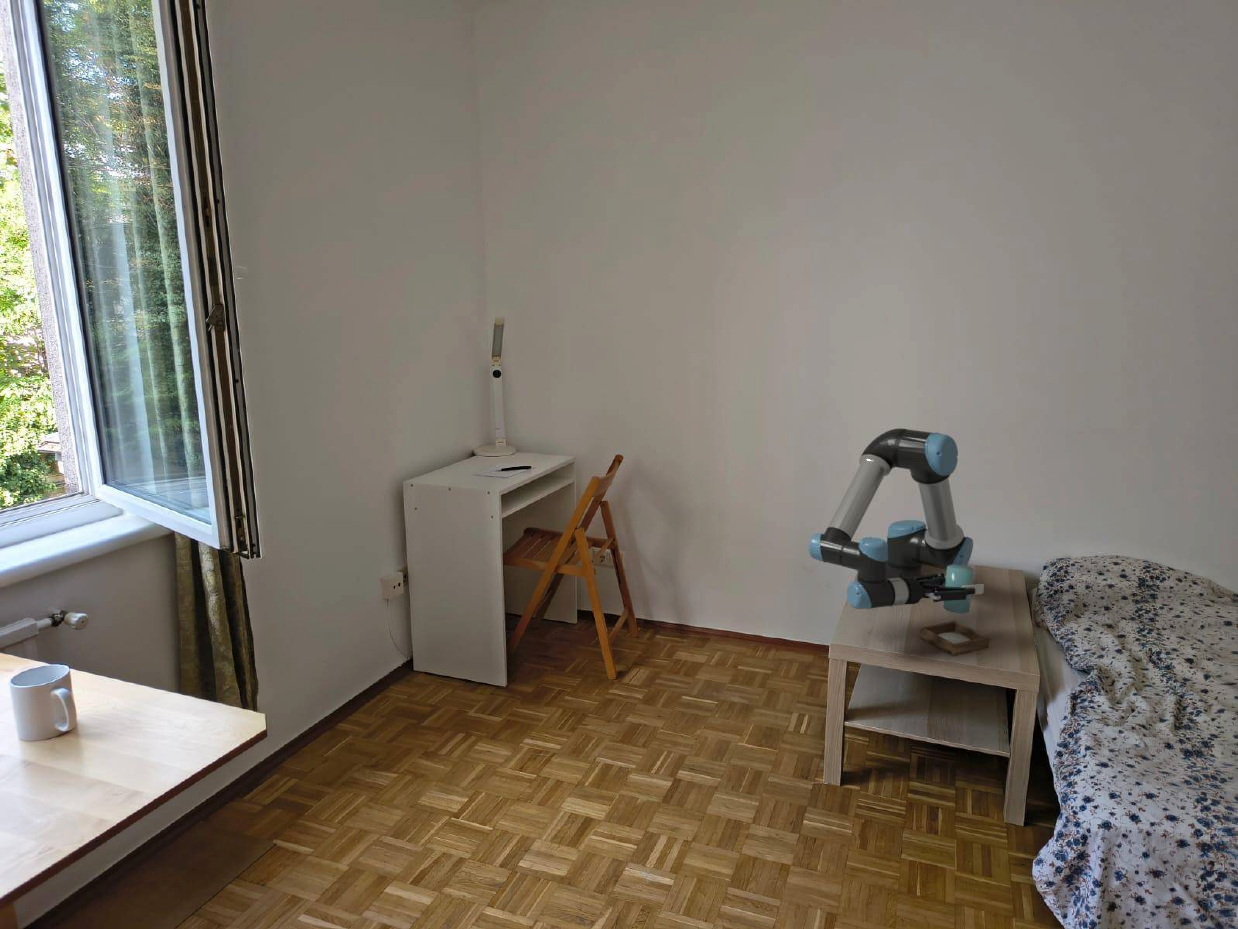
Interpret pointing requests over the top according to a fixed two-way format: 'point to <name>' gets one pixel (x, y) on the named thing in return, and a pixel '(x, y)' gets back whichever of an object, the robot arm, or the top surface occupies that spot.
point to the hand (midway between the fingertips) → (974, 583)
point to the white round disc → (954, 637)
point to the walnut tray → (975, 637)
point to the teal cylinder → (958, 578)
